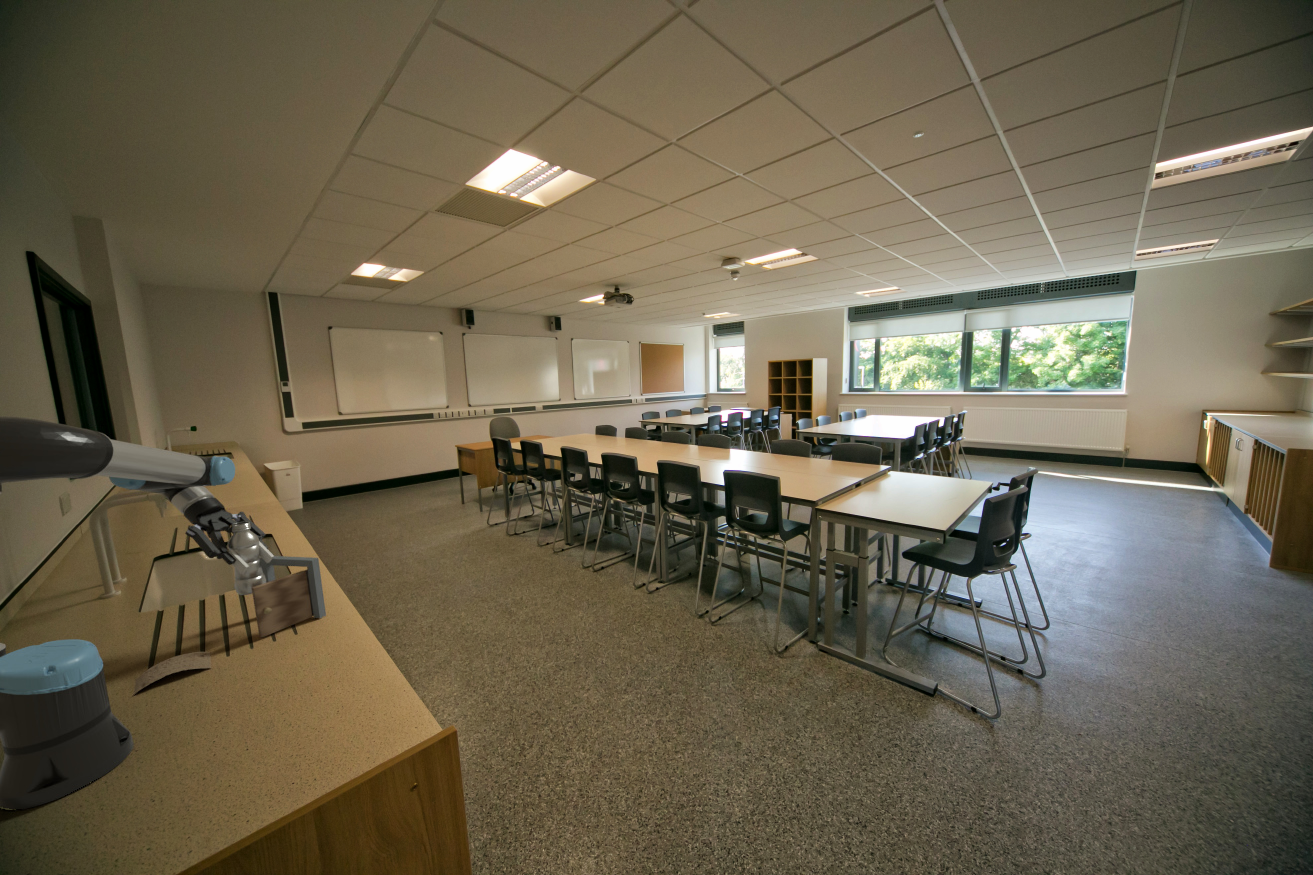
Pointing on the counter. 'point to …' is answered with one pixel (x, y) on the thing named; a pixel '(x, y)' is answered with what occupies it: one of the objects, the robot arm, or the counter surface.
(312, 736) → the counter surface
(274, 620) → the door
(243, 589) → the silver metal bottle
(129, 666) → the counter surface
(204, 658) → the clay tablet
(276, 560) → the door frame
